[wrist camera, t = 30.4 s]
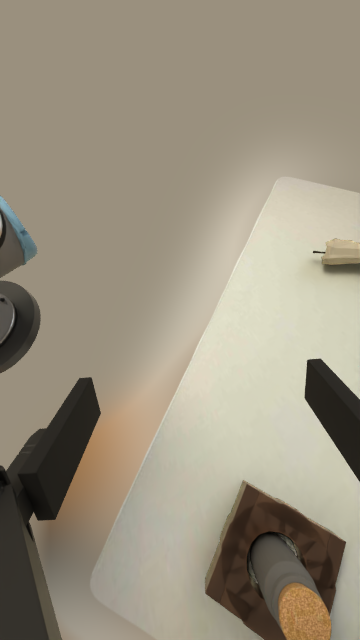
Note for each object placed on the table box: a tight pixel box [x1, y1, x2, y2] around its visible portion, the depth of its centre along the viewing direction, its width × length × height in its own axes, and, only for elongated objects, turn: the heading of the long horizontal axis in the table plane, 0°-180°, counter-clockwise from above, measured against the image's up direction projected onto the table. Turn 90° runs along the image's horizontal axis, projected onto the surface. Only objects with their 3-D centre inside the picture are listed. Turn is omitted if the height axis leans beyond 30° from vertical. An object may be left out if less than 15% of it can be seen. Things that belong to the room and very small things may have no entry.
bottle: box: [250, 532, 331, 640], centre depth 32 cm, size 6×6×15 cm
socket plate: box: [205, 480, 346, 640], centre depth 37 cm, size 14×14×4 cm
